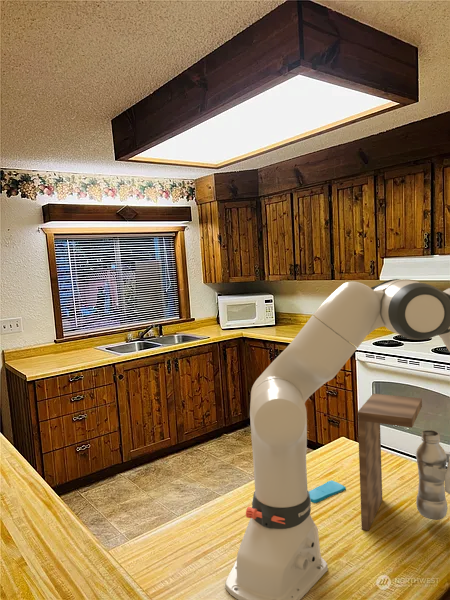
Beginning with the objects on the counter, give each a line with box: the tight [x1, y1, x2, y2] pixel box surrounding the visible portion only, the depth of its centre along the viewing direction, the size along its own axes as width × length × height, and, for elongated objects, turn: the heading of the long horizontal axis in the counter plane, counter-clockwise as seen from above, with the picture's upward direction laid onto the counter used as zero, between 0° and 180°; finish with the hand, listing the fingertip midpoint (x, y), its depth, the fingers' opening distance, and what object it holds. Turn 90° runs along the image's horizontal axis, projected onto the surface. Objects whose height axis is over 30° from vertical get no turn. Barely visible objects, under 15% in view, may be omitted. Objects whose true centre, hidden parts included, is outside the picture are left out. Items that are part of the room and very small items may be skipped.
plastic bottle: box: [415, 429, 448, 521], centre depth 104 cm, size 6×7×20 cm
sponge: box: [308, 479, 347, 504], centre depth 122 cm, size 2×12×6 cm
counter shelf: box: [357, 393, 423, 532], centre depth 107 cm, size 15×12×28 cm
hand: (426, 462), depth 104 cm, fingers closed on plastic bottle, 6 cm apart
